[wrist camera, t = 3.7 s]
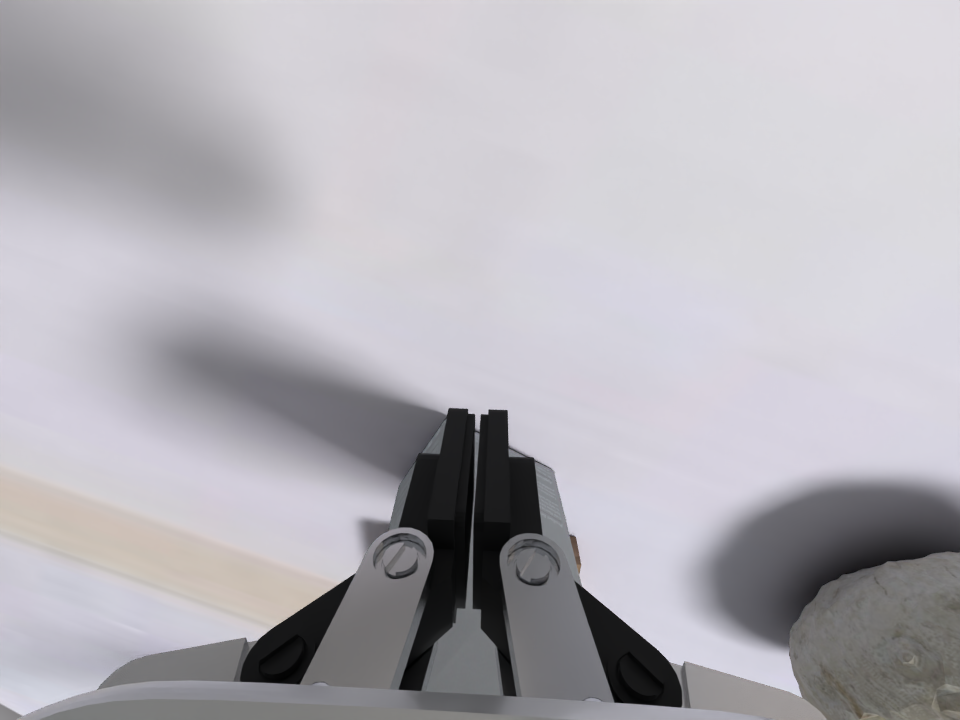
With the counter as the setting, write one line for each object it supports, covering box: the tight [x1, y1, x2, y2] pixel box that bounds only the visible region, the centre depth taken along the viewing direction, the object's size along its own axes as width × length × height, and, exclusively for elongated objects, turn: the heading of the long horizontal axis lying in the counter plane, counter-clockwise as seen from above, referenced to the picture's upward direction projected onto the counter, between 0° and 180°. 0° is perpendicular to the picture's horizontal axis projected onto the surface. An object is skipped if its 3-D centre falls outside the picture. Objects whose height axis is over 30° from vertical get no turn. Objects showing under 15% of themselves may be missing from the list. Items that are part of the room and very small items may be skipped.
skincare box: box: [388, 419, 582, 696], centre depth 20 cm, size 8×7×16 cm
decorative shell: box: [789, 551, 960, 720], centre depth 26 cm, size 18×18×10 cm
